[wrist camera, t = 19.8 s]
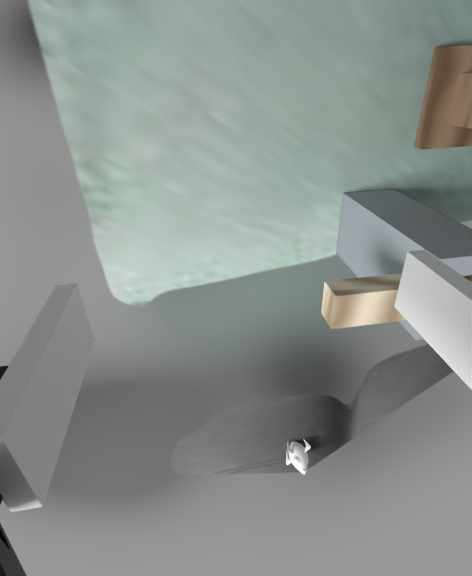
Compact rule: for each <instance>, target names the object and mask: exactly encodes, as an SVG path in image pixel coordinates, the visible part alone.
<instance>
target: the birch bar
mask: <svg viewBox="0 0 472 576" xmlns="http://www.w3.org/2000/svg"><path fill="white" fill-rule="evenodd" d="M401 276H402V273H399V274H389V275H380V276H370V277H361V278H352V279H343V280H333V281H325V284H324V293H323V303H322V311H321V312H322V315H323V316H324V318H325V319H326V321H327V323H328V324H329V326H330V328H331V329H337V328H345V327H352V326H361V325H369V324H378V323H386V322H394V321H403V320H406V319H405V318H404V317H403V316H402V315H401V314H400V312H399V311H398V310H397V309H396V308H395V307H394V305H395V301H396V297H397V293H398V288H399V284H400V280H401ZM463 277H464V278H466V279H467V280H469V281H470V282H471V283H472V275H467V276H463Z"/></svg>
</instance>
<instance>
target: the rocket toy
mask: <svg viewBox="0 0 472 576" xmlns="http://www.w3.org/2000/svg"><path fill="white" fill-rule="evenodd" d="M303 440H304V439H303ZM304 442H305V444H306V447H305V448H304V446H303V445H302V444H300V443H298V442H293V443H291V445H290V447H289V443H288V441H287V450H288V452H289V458H290V459H289V458H288V453H287V452H286V465H288V464H290V463H291V462H292V464H293V465H294V467H295V468H296V469H297V470H299V471H300V472H301V473H302V474H305V473H306V469H307V466H308V462H309V460H308V454H307V451H308V450H309V449H310V448H311V446H310V445H309V444H308V443H307V442H306V441H305V440H304Z"/></svg>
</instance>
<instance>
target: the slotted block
mask: <svg viewBox="0 0 472 576" xmlns="http://www.w3.org/2000/svg"><path fill="white" fill-rule="evenodd" d="M416 250H426V251H427V252H429V253H430V254H432V255H433V256H435V257H436V258H437V259H439V260H440V261H442V262H443V263H444V264H446V265H447V266H449V267H450V268H452V269H453V270H454V271H456V272H457V273H459V274H460V275H461V276H467V275H472V229H470V228H468V227H466V226H464V225H463V224H461V223H459V222H457V221H455V220H453V219H451V218H449V217H447V216H445V215H443V214H441V213H439V212H437V211H435V210H433V209H431V208H429V207H427V206H425V205H423V204H422V203H420V202H418V201H416V200H414V199H412V198H410V197H408V196H406V195H404V194H402V193H400V192H398V191H396V190H394V189H387V190H374V191H362V192H349V193H343V200H342V208H341V217H340V225H339V233H338V241H337V250H336V253H337V254H338V255H339V257H340V258H341V259H342V260H343V261H344V262H345V263H346V264H347V265H348V266H349V267H350V268H351V270H352V271H353V272H354V273H355V274H356V275H357V276H358V277H359V278H361V277H370V276H380V275H389V274H399V273H402V272H403V267H404V263H405V259H406V255H407V251H416ZM399 322H400V323H401V324H402V325H403V327H404V328H405V329H406V330H407V331H408V332H409V333H410V334H411V335H412V336H413V337H414V339H415V340H423V339H424V338H423V337H422V336H421V335H420V334H419V333H418V332H417V331H416V330H415V329H414V327H413V326H412V325H411V324H410V323H409V322H408V321H407V320H403V321H399Z"/></svg>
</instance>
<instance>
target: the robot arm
mask: <svg viewBox="0 0 472 576" xmlns="http://www.w3.org/2000/svg"><path fill="white" fill-rule="evenodd" d="M394 307H395V308H396V309H397V310H398V311H399V312H400V314H401V315H402V316H403V317H404V318H405V319H406V320H407V321H408V322H409V323H410V324H411V325H412V326H413V327H414V329H415V330H416V331H417V332H418V333H419V334H420V335H421V336H422V337H423V338H424V339H425V340H426V341H427V342H428V344H429V345H430V346H431V347H432V348H433V349H434V350H435V351H436V352H437V353H438V354H439V355H440V356H441V357H442V359H443V360H444V361H445V362H446V363H447V364H448V365H449V366H450V367H451V368H452V369H453V370H454V371H455V372H456V373H457V375H458V376H459V377H461V379H462V380H463V381H464V382H465V383H466V384H467V385H468V386H469V387H470V388H471V389H472V283H471V282H470V281H469V280H467V279H466V278H464V277H463V276H461V275H460V274H459V273H457V272H456V271H454V270H453V269H452V268H450V267H449V266H447V265H446V264H444V263H443V262H442V261H440V260H439V259H437V258H436V257H435V256H433V255H432V254H430V253H429V252H427V251H426V250H416V251H407V255H406V259H405V263H404V267H403V272H402V276H401V280H400V284H399V288H398V293H397V297H396V301H395V305H394ZM94 342H95V339H94V336H93V333H92V330H91V326H90V323H89V320H88V317H87V314H86V310H85V308H84V304H83V301H82V298H81V294H80V291H79V288H78V285H77V283H76V284H67V285H56V286H55V288H54V289H53V291H52V293H51V294H50V296H49V298H48V300H47V301H46V303H45V305H44V306H43V308H42V310H41V311H40V313H39V315H38V317H37V318H36V320H35V322H34V323H33V325H32V327H31V329H30V330H29V332H28V334H27V335H26V337H25V339H24V341H23V342H22V344H21V346H20V347H19V349H18V351H17V353H16V354H15V356H14V358H13V360H12V361H11V363H10V365H9V366H1V367H0V504H1V502H2V500H3V501H4V502H5V504H6V505H7V507H8V508H9V510H10V511H11V512H12V511H19V510H25V509H31V508H37V507H43V504H44V501H45V497H46V494H47V491H48V488H49V485H50V482H51V479H52V475H53V472H54V469H55V466H56V463H57V460H58V456H59V453H60V450H61V447H62V444H63V441H64V437H65V434H66V431H67V428H68V425H69V421H70V418H71V415H72V412H73V408H74V406H75V402H76V399H77V396H78V392H79V390H80V387H81V383H82V380H83V377H84V374H85V371H86V367H87V364H88V361H89V358H90V355H91V351H92V348H93V345H94ZM0 576H26V574H25V572H24V570H23V568H22V566H21V564H20V562H19V560H18V558H17V556H16V554H15V552H14V550H13V548H12V546H11V544H10V542H9V540H8V538H7V536H6V534H5V532H4V530H3V528H2V526H1V524H0Z"/></svg>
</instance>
